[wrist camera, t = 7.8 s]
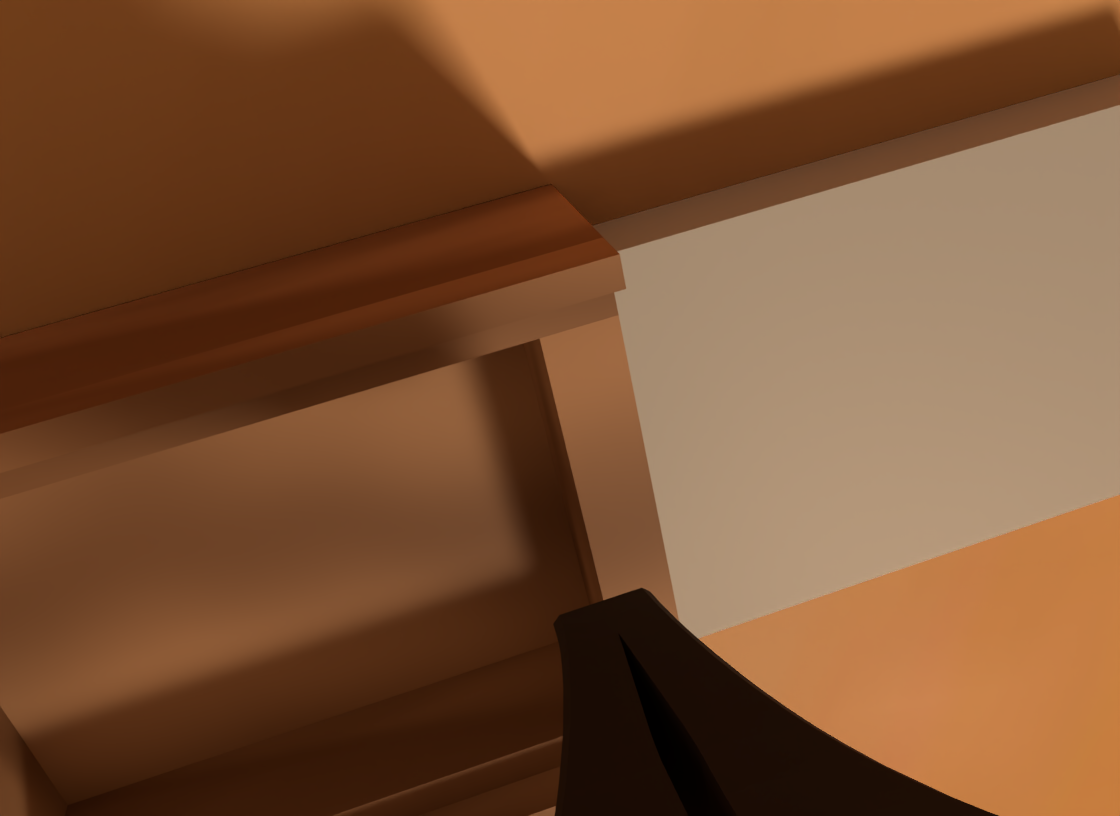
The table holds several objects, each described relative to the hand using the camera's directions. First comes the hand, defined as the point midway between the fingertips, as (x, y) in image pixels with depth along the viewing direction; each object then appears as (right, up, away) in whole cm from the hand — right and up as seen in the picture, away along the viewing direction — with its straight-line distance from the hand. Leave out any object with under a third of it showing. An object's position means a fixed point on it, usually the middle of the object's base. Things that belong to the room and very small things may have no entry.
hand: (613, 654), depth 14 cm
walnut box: (-6, +1, +4) cm, 7 cm away
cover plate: (+5, +5, +6) cm, 10 cm away
